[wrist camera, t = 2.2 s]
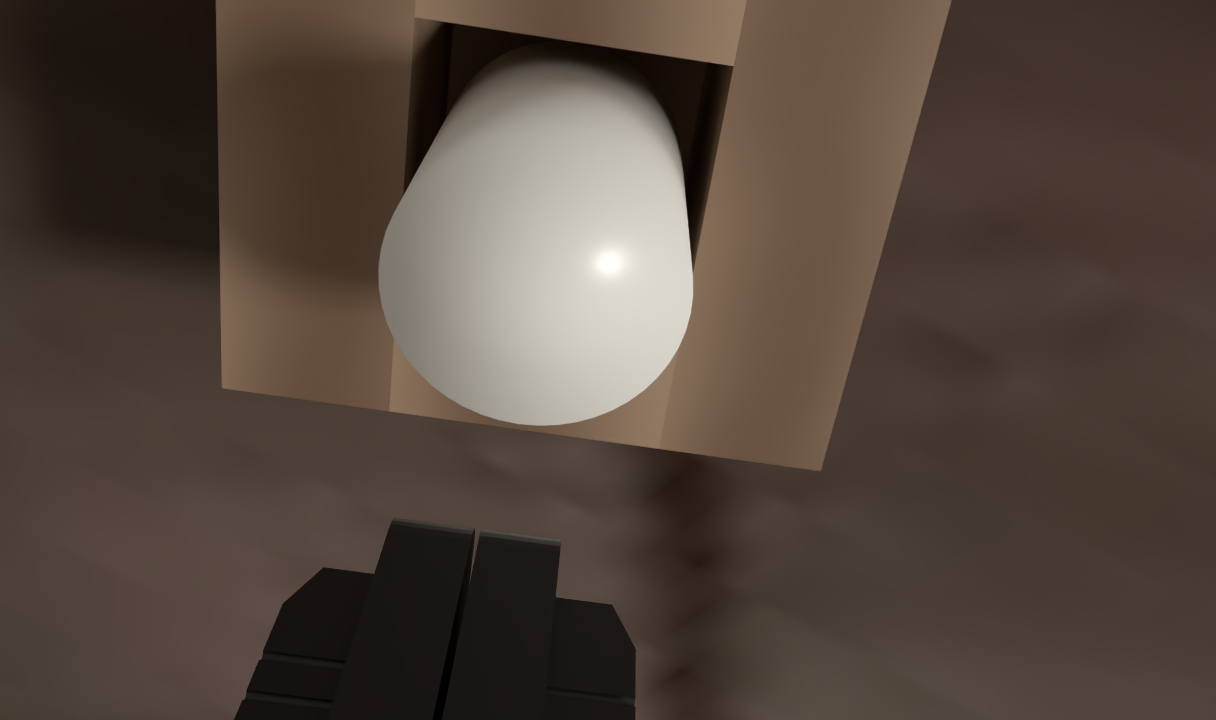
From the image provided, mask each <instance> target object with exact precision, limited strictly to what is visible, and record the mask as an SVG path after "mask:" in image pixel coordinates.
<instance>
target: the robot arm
mask: <svg viewBox="0 0 1216 720" xmlns="http://www.w3.org/2000/svg"><path fill="white" fill-rule="evenodd" d="M474 537H475V529H474V528H467V527H459V526H452V525H444V524H437V523H429V522H422V521H414V520H407V519H399V518H394V519H393V520H392V522H391V524H390V527H389V530H388V533H387V536H386V539H385V542H384V546H383V549H382V552H381V555H380V558H379V561H378V564H377V567H376V570H375V573H374V574H370V573H362V572H355V571H347V570H339V569H332V568H322V569H321V570H320V571H319V572H318V573H317V574H316V575H315V576H313V577H312V578H311V579H310V580H309V581H308V582H307V583H306V584H304V585H303V586H302V587H301V588H300V589H299V590H298V591H297V592H296V593H294V594H293V595H292V596H291V597H290V598H289V599H288V600H287V601H285V602H284V603H283V605H282V607H281V609H280V612H279V614H278V617H277V619H276V621H275V624H274V626H273V628H272V631H271V633H270V636H269V638H268V640H267V643H266V645H265V647H264V650H263V656H262V659H261V660H259V662H258V664H257V666H256V669H255V671H254V674H253V676H252V678H251V681H250V683H249V686H248V688H247V693H246V697H245V700H242V702H241V705H240V707H239V709H238V712H237V714H236V716H235V719H234V720H635V707H634V703H635V664H636V649H635V647H634V645H633V643H632V641H631V639H630V638H629V636H628V634H627V632H626V630H625V628H624V626H623V624H622V622H621V621H620V619H619V617H618V615H617V613H616V611H615V609H614V607H613V605H610V604H602V603H594V602H587V601H579V600H571V599H564V598H556V587H557V577H558V567H559V557H560V546H561V540H559V539H552V538H544V537H537V536H529V535H522V534H514V533H507V532H499V531H492V530H484V529H481V532H480V536H479V541H478V546H477V551H476V556H475V561H474V565H473V570H472V575H471V566H472V557H473V548H474ZM470 575H471V580H470ZM469 583H470V585H469Z"/></svg>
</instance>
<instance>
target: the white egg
mask: <svg viewBox="0 0 1216 720" xmlns="http://www.w3.org/2000/svg"><path fill="white" fill-rule="evenodd" d="M378 275H379V292H380V298H381V304H382V308H383V311H384V315H385V318H386V321H387V324H388V326H389V329H390V331H391V333H392V335H393V337H394V340H395V342H396V343H397V345H398V346H399V348H400V350H401V351H402V353H403V354H404V356H405V357H406V359H407V360H408V361H409V362H410V364H411V365H412V366H413V367H414V368H415V370H416V371H417V372H418V373H419V374H420V375H421V376H422V377H423V378H424V379H425V380H426V381H427V382H428V383H429V384H430V385H432V386H433V387H434V388H436V389H437V390H438V391H440V392H441V393H442V394H444V395H445V396H446V397H448V398H450V399H451V400H453V401H455V402H456V403H458V404H460V405H461V406H463V407H465V408H468V409H470V410H472V411H474V412H477V413H479V414H481V415H484V416H487V417H491V418H494V419H497V420H501V421H506V422H511V423H516V424H524V425H536V426H543V425H561V424H568V423H575V422H579V421H583V420H587V419H591V418H594V417H597V416H599V415H602V414H605V413H607V412H610V411H612V410H614V409H616V408H618V407H619V406H621V405H623V404H625V403H627V402H629V401H630V400H631V399H633V398H634V397H636V396H637V395H638V394H640V393H641V392H642V391H644V390H645V389H646V388H647V387H648V386H649V385H650V384H651V383H652V382H653V381H655V380H656V379H657V378H658V376H659V375H660V374H661V373H662V372H663V370H664V369H665V368H666V367H667V365H668V364H669V363H670V361H671V359H672V358H673V356H674V355H675V353H676V351H677V350H678V348H679V346H680V344H681V341H682V339H683V337H684V334H685V332H686V329H687V325H688V322H689V318H690V314H691V308H692V300H693V272H692V261H691V250H690V239H689V229H688V218H687V207H686V197H685V186H684V175H683V165H682V154H681V146H680V139H679V134H678V130H677V127H676V124H675V120H674V118H673V116H672V114H671V111H670V109H669V107H668V105H667V103H666V102H665V100H664V98H663V97H662V95H661V94H660V92H659V91H658V90H657V88H656V87H655V86H654V85H653V84H652V82H651V81H650V80H649V79H648V78H647V77H646V76H645V75H644V74H643V73H642V72H640V71H639V70H638V69H637V68H636V67H634V66H633V65H632V64H630V63H629V62H627V61H626V60H624V59H623V58H621V57H619V56H617V55H615V54H613V53H611V52H609V51H607V50H604V49H601V48H599V47H596V46H593V45H588V44H584V43H579V42H570V41H545V42H539V43H534V44H528V45H525V46H522V47H519V48H516V49H513V50H511V51H509V52H507V53H505V54H503V55H501V56H499V57H497V58H496V59H494V60H493V61H491V62H490V63H488V64H487V65H486V66H484V67H483V68H482V69H481V70H480V71H479V72H478V73H477V74H475V75H474V76H473V78H472V79H471V80H470V81H469V82H468V83H467V85H466V86H465V87H464V88H463V90H462V92H461V93H460V95H459V96H458V98H457V99H456V101H455V103H454V105H453V107H452V108H451V110H450V112H449V114H448V116H447V117H446V119H445V121H444V123H443V125H442V127H441V128H440V130H439V132H438V134H437V136H436V137H435V139H434V141H433V143H432V145H431V147H430V148H429V150H428V152H427V154H426V156H425V157H424V159H423V161H422V163H421V165H420V167H419V168H418V170H417V172H416V174H415V176H414V177H413V179H412V181H411V183H410V185H409V187H408V188H407V190H406V192H405V194H404V196H403V197H402V199H401V201H400V203H399V205H398V206H397V208H396V210H395V212H394V214H393V216H392V218H391V221H390V223H389V225H388V227H387V230H386V232H385V236H384V240H383V243H382V247H381V251H380V259H379V267H378Z"/></svg>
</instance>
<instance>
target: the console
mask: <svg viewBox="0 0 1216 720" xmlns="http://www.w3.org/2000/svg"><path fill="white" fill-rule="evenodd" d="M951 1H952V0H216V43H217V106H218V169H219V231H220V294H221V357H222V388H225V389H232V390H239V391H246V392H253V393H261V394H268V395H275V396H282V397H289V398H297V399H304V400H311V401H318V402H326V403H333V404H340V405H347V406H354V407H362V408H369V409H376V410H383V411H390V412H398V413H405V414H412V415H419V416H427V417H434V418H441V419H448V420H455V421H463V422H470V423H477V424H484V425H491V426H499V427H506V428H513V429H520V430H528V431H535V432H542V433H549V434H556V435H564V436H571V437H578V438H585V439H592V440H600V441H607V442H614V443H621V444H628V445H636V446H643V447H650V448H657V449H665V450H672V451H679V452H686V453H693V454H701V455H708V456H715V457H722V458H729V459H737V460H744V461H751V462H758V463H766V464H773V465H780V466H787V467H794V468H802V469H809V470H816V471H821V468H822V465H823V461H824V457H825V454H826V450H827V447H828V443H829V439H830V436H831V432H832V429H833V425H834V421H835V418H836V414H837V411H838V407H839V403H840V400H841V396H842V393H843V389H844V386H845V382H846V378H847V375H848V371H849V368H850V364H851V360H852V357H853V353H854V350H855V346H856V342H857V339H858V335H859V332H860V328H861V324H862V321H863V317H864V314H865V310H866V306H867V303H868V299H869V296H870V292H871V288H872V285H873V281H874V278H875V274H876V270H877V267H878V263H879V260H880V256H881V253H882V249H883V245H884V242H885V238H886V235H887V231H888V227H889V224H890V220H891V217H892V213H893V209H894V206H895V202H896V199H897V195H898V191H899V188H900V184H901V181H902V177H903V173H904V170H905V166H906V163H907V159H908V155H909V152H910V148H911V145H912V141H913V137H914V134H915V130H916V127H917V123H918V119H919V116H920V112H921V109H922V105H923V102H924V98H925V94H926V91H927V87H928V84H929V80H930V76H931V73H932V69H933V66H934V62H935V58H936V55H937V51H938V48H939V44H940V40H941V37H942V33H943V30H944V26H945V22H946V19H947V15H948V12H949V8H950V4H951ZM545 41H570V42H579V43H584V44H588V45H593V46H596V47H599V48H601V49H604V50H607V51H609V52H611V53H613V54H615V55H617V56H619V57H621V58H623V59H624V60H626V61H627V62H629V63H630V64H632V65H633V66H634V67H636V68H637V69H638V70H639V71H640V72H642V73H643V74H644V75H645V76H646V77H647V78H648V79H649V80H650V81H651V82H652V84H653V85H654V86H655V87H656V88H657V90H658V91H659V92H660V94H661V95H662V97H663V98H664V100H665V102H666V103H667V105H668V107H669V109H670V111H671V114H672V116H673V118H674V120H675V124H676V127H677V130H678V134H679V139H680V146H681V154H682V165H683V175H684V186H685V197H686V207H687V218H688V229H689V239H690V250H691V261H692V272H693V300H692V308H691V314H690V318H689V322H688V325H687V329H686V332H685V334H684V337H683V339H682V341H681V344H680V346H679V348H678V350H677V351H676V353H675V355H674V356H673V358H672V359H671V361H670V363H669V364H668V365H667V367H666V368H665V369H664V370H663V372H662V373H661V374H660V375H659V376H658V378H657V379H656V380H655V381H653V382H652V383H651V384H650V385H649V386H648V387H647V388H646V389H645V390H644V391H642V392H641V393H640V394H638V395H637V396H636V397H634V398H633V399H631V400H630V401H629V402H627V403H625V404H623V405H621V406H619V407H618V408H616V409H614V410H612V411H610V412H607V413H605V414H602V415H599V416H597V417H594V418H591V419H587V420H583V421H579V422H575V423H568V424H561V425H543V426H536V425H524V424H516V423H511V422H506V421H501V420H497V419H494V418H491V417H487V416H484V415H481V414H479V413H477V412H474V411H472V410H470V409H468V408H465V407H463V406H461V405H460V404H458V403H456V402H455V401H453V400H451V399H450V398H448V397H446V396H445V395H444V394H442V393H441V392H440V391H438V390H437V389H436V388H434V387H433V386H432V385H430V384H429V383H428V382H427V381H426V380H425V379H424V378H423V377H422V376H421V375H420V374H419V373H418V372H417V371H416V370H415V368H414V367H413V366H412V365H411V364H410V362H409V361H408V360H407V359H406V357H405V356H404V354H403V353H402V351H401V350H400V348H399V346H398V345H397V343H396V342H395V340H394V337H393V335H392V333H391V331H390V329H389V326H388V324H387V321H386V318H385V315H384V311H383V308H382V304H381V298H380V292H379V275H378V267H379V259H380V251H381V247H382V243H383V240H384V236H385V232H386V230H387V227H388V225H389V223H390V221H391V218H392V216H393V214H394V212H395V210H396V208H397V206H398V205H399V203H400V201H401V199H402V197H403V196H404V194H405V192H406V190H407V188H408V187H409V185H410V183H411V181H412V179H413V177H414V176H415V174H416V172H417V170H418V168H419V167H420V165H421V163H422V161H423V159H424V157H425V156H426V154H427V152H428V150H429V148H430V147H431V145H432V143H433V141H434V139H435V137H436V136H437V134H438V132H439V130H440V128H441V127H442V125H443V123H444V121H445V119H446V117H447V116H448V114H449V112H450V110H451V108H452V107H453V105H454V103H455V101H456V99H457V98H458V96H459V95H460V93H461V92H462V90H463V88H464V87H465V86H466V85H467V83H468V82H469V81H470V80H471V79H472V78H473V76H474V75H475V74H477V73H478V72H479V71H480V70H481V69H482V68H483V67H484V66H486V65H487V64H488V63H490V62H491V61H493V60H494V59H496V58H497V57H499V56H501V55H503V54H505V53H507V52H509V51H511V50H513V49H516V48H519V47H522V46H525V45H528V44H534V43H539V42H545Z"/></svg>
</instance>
